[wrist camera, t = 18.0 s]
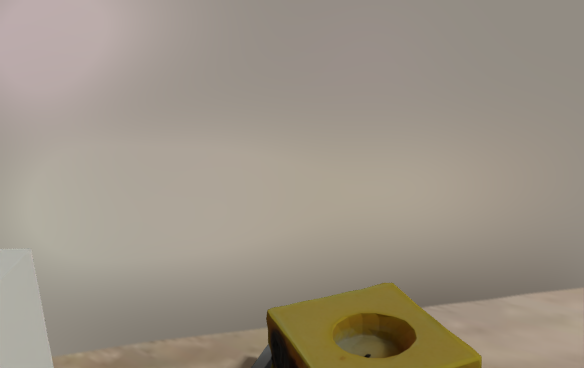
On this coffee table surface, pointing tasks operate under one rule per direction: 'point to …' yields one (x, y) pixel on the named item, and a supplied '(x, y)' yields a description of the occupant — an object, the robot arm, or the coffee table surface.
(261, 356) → the tray
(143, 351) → the coffee table surface
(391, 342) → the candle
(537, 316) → the coffee table surface
